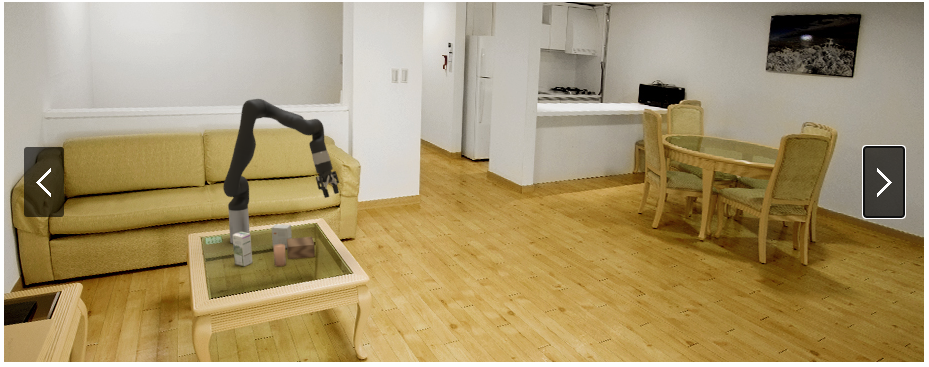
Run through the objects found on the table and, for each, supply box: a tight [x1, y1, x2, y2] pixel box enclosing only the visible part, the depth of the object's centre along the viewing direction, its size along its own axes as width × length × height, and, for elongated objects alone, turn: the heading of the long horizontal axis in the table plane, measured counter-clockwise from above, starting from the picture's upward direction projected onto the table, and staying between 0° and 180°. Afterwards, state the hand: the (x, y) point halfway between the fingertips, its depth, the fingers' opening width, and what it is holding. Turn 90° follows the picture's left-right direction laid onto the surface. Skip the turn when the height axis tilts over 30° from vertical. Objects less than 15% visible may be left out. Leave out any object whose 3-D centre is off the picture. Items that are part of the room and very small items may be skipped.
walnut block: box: [286, 236, 316, 260], centre depth 295 cm, size 12×12×6 cm
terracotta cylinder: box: [273, 244, 287, 267], centre depth 281 cm, size 5×5×9 cm
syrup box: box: [232, 232, 253, 267], centre depth 280 cm, size 6×6×14 cm
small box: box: [271, 223, 293, 249], centre depth 304 cm, size 8×6×10 cm
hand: (332, 195), depth 285 cm, fingers open, 8 cm apart
